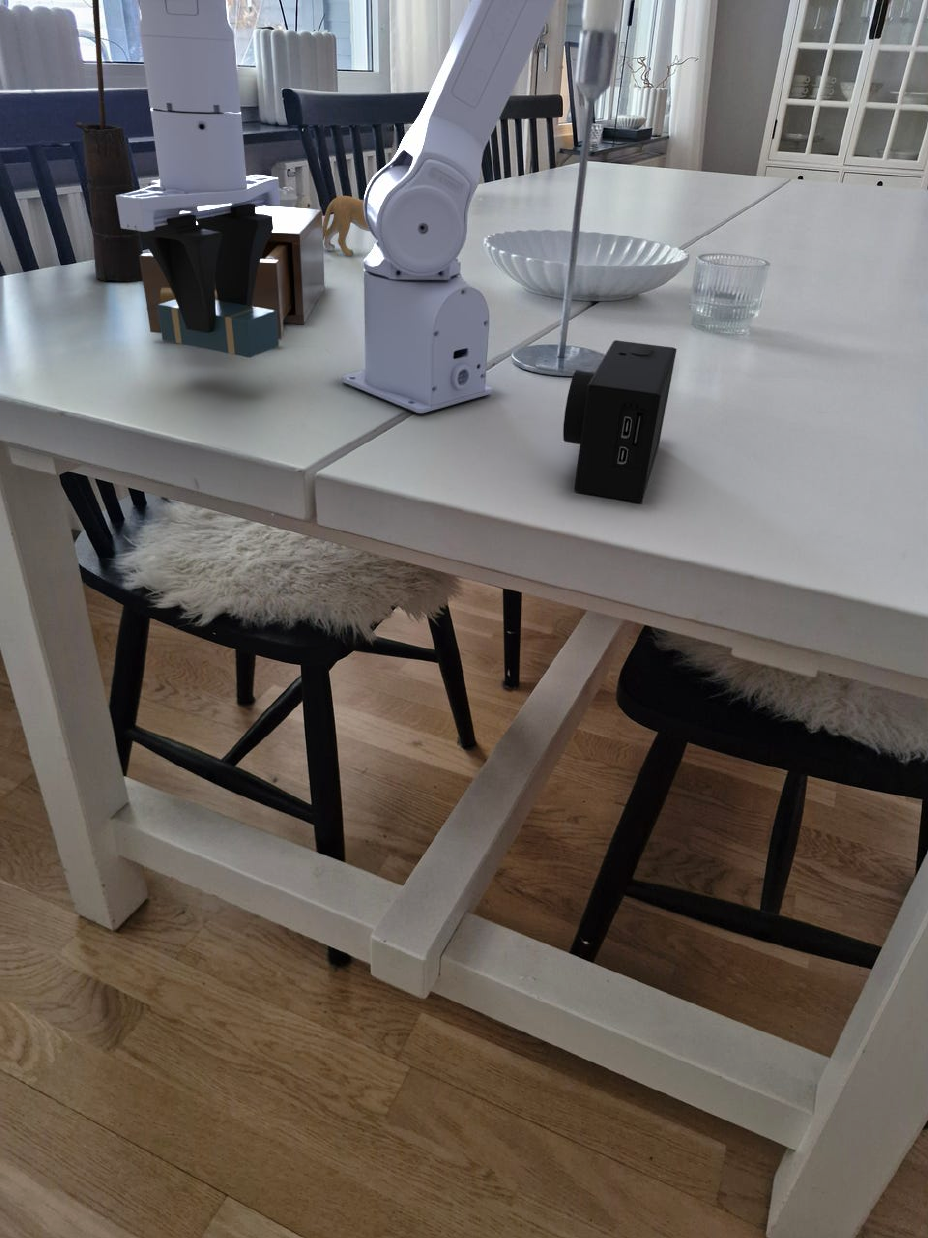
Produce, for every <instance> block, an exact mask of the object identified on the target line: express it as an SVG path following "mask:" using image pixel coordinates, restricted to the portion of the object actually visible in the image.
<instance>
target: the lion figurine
mask: <svg viewBox="0 0 928 1238" xmlns="http://www.w3.org/2000/svg"><path fill="white" fill-rule="evenodd" d="M332 214H333V217H332V221H331V223H330V225H329V222H330V218H331V215H332ZM351 223H352V224H353V225H355V226H356V228H357V227H358V228H359V229H360V230H363V231H365V232H370V233H371V231H370V230H369V228H368V226H367V223H366V220H365V216H364V199H360V198H357V197H353V196H349V195H339V196H337V197H335V198H334V199H332V200H331V202H330V203H329V204H328V206H327V207H326V211H325V213H324V218H323V220H322V230H323V247H324V248H325V250H329V251H334V250H335V249H336V246H335V244H333V243H331V240H332V239H333V237H334V236H336V235H337V234H338V238H337V243H338V245H339V248H340V249H341V251H342V253H343V255H345V256H348V257H349V256H354V254H355V253H354V250H353V249H350V248H348V246H347V237H348V233H349V230H350V227H351ZM328 225H329V227H328Z"/></svg>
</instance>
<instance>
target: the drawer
mask: <svg viewBox="0 0 928 1238" xmlns="http://www.w3.org/2000/svg"><path fill="white" fill-rule="evenodd" d="M139 257H140V264H141V271H142V278H143V280H142V284H143V291H144V299H145V304H146V311H147V312H146V313H147V318H148V325H149V332H150V333H156V334H162V333H161V326H160V319H159V312H158V304H161V303H165V302H168V301H172V300H175V297H174V294H173V292H172V290H171V288H170V285H169V283H168V281H167V279H166V277H165V275H164V273H163V271H162V270H161V268H160V266H159V264H158V263H157V261H156V259H155V258H154V256H153V255H152V253H151V252H149V253H148V252H143V254H141V255H140V256H139ZM215 300H218V297H217V291H216V285H215ZM294 304H295V295H294V277H293V259H292V242H273V241H267V244H266V246H265V248H264V251H263V254H262V257H261V260H260V263H259V267H258V271H257V276H256V281H255V287H254V293H253V300H252V307H259V308H264V309H269V310H275V311H276V312H277V326H278V340H282V339H283V338H284V335H285V333H284V332H285V331H284V323H283V320H284V319H285V317H286V316H287V314H288V313H289V311H290V310H291V308H292V307H293V305H294Z"/></svg>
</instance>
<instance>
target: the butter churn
mask: <svg viewBox="0 0 928 1238" xmlns="http://www.w3.org/2000/svg"><path fill="white" fill-rule="evenodd" d="M91 1H92V2H91V3H92V17H93V18H92V21H93V31H94V40H95V42H94V43H95V56H96V57H95V59H96V60H95V61H96V75H97V91H98V93H97V94H98V99H99V100H98V102H99V123H88V124H84V123H83V122H81V121H80V122H79V121H78V122H76V123H75V126H76V127H77V128H78V129H80V130H82V142H83V148H84V163H85V169H86V180H87V182H86V188H87V191H88V197H89V209H90V217H91V229H92V230H91V232H92V234H91V235H92V243H93V244H92V245H93V256H94V257H93V259H94V269H95V277H96V278H97V279H98V280H100V281H103V282H106V281H107V282H109V281H111V280H113V281H119V282H135V281H136V282H138V281H139V282H140V281H143V278H142V271H141V264H140V257H139V256H140V255H141V254H143V253H144V250H143V243H142V240H141V238H140V237H139V232H138V230H130V229H123V228H121V226H120V220H119V213H118V207H117V201H116V195H120V194H126V193H131V192H134V191H135V184H134V181H133V172H132V166H131V163H130V157H129V151H128V146H127V141H126V136H125V132H124V128H123V127H122V126H115V125H111V124H107V119H106V109H105V108H106V106H105V102H104V101H105V86H104V85H105V84H104V70H103V68H104V67H103V56H102V54H103V53H102V38H101V37H102V35H101V20H100V19H101V18H100V0H91Z"/></svg>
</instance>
